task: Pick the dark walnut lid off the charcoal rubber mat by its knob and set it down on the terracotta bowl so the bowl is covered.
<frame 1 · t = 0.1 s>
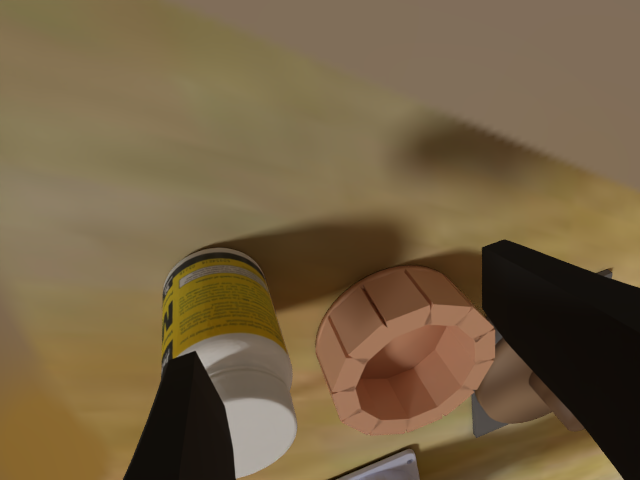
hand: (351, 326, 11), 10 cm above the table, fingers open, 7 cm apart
supplement bottle: (215, 285, 21), on the table
lid: (538, 362, 31), resting on mat
bowl: (389, 330, 26), on the table
mat: (534, 358, 32), on the table
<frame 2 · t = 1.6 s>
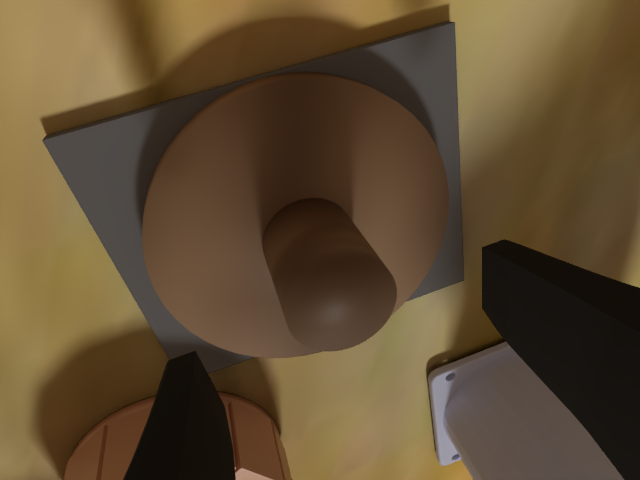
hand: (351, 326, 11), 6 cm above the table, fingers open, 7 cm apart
lid: (301, 226, 15), resting on mat
bowl: (180, 463, 20), on the table
mat: (298, 221, 16), on the table
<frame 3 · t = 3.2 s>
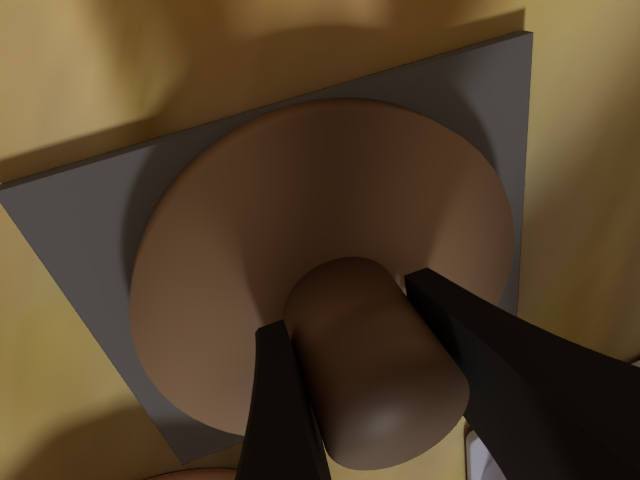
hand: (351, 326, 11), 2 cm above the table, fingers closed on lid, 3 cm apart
lid: (329, 284, 12), resting on mat, touching gripper
mat: (325, 275, 13), on the table
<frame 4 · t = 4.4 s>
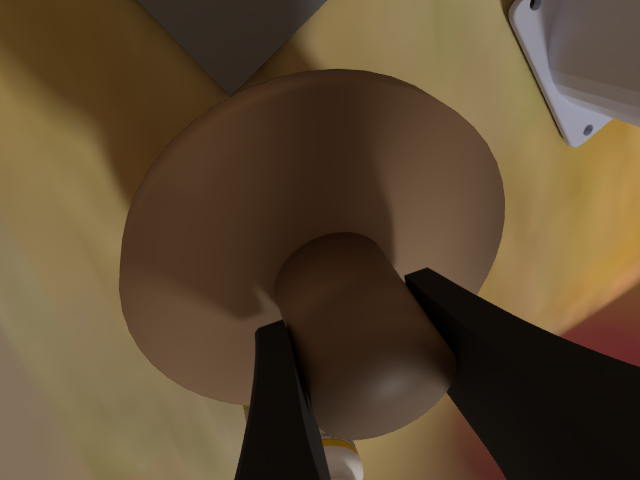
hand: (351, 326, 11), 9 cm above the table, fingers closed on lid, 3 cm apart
supplement bottle: (283, 380, 25), on the table
lid: (320, 257, 12), point 7 cm above the table, touching gripper
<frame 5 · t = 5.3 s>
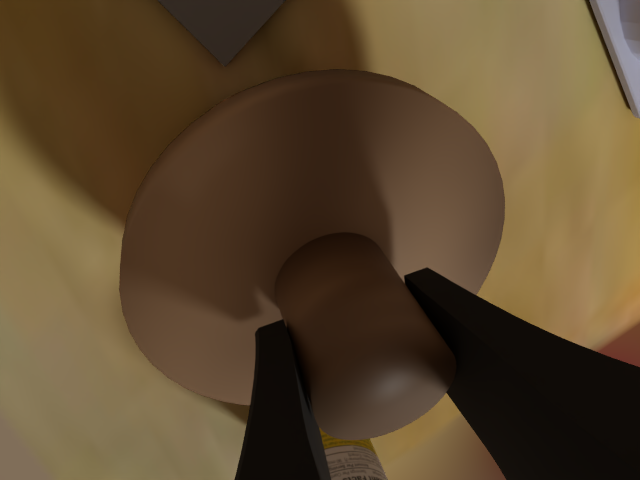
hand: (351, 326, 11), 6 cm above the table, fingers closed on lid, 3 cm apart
supplement bottle: (301, 404, 22), on the table
lid: (320, 257, 12), point 4 cm above the table, tilted 5°, touching gripper
when the fingers open (6 cm above the table, at t = 5.8 s): lid stays where it is, resting on bowl.
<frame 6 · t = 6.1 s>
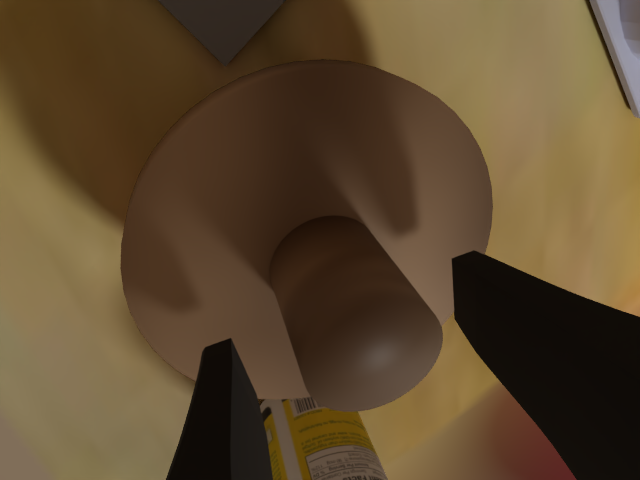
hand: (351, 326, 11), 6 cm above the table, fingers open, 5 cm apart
supplement bottle: (301, 404, 22), on the table
lid: (315, 246, 13), point 3 cm above the table, touching bowl
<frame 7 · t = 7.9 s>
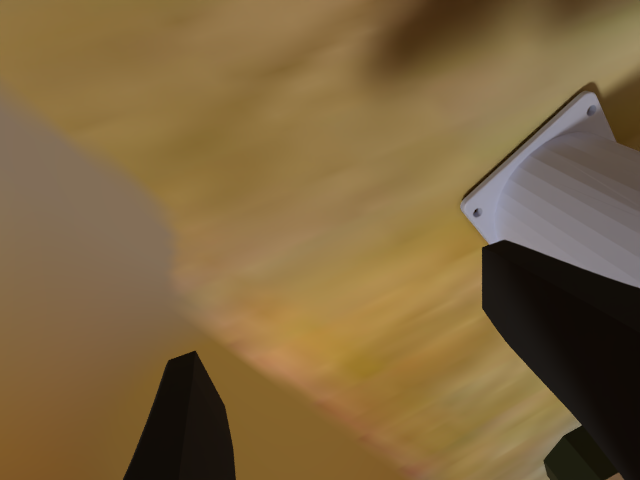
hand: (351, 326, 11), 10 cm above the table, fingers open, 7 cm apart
wine bottle: (580, 445, 41), on the table
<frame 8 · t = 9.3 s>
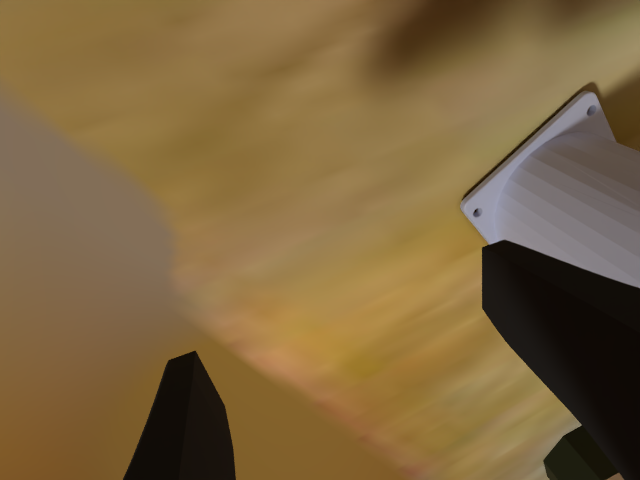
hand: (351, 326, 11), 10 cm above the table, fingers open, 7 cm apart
wine bottle: (580, 446, 41), on the table
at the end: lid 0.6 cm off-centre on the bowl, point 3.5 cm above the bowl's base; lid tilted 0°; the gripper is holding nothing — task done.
